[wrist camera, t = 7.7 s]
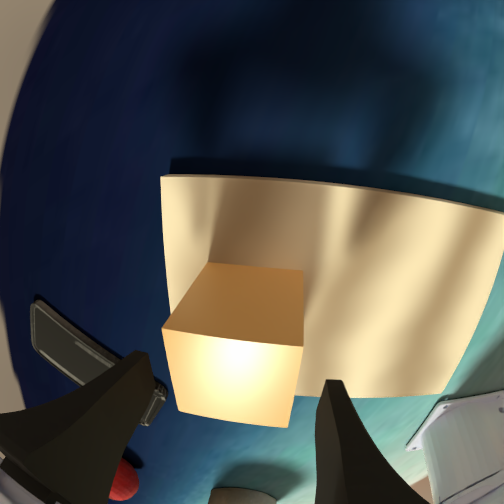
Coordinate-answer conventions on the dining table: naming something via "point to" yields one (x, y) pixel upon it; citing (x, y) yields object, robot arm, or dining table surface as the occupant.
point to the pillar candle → (239, 496)
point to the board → (347, 270)
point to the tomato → (124, 482)
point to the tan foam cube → (238, 344)
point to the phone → (78, 353)
